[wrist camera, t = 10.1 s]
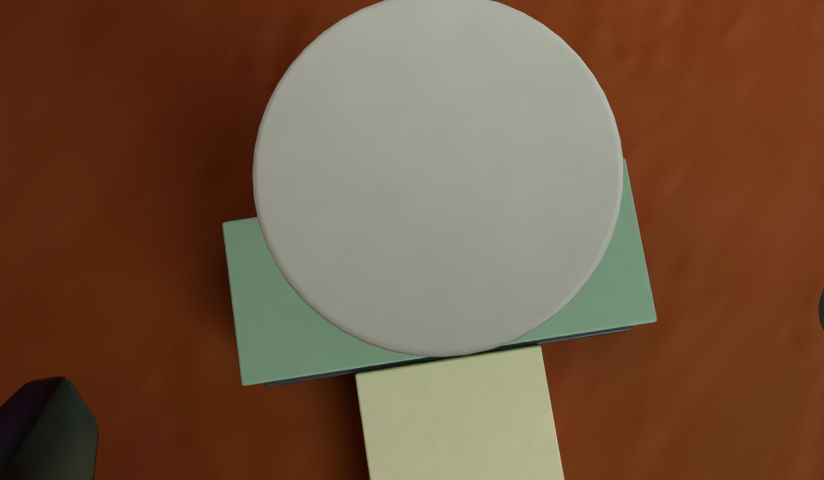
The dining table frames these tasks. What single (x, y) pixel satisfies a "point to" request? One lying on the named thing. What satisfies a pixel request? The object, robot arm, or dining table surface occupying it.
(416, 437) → the pale yellow square block
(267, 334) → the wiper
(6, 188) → the dining table surface
